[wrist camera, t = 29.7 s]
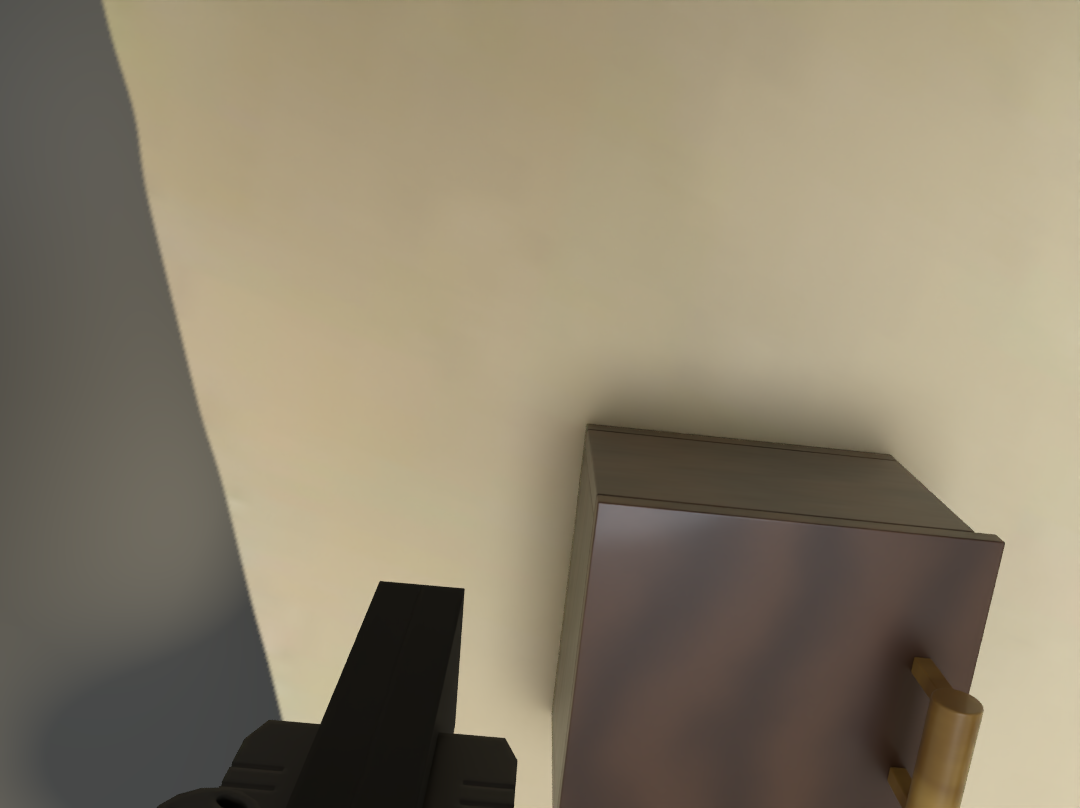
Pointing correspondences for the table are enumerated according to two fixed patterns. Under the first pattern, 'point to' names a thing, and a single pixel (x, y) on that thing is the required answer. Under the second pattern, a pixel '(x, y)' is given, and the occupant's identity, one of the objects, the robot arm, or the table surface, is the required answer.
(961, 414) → the table surface
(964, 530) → the chest
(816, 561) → the chest lid
